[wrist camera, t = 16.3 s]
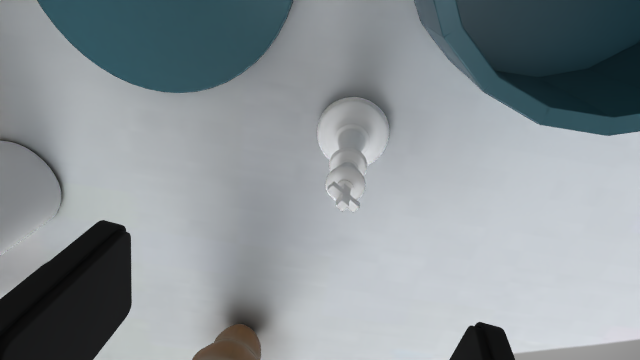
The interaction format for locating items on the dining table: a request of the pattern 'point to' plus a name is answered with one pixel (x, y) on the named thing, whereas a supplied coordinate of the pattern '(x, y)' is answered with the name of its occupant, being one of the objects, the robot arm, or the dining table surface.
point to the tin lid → (170, 38)
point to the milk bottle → (24, 194)
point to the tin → (547, 57)
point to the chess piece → (351, 146)
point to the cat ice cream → (232, 345)
